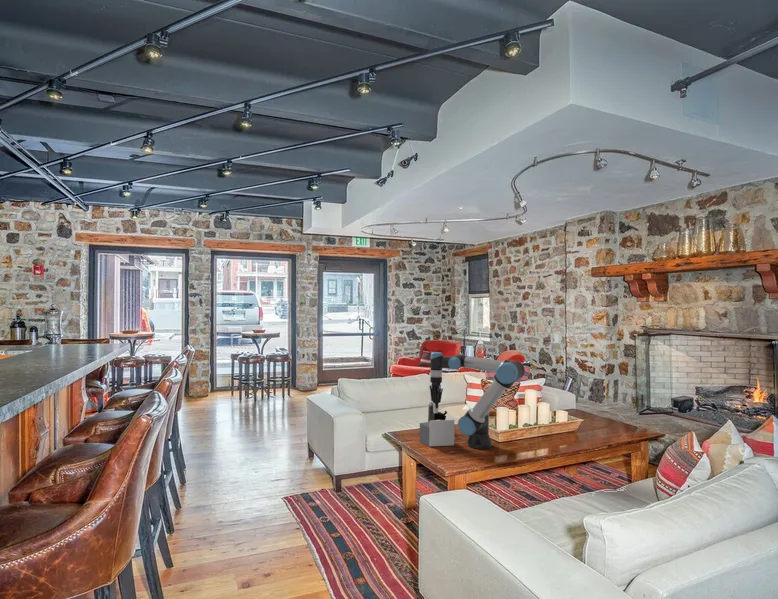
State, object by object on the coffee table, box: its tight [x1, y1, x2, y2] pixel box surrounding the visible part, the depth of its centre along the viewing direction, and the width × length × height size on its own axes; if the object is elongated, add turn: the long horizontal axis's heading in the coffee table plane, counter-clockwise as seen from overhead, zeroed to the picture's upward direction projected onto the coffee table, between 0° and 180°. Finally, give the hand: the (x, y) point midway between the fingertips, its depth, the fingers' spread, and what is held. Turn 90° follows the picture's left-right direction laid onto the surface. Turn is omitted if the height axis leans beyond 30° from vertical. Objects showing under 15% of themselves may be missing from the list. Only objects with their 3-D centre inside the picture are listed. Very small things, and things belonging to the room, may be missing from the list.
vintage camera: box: [427, 401, 448, 422], centre depth 328 cm, size 10×16×20 cm, turn 89°
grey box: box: [419, 421, 431, 448], centre depth 303 cm, size 12×18×13 cm
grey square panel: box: [428, 419, 455, 447], centre depth 295 cm, size 16×1×16 cm, turn 100°
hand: (435, 412), depth 300 cm, fingers closed
